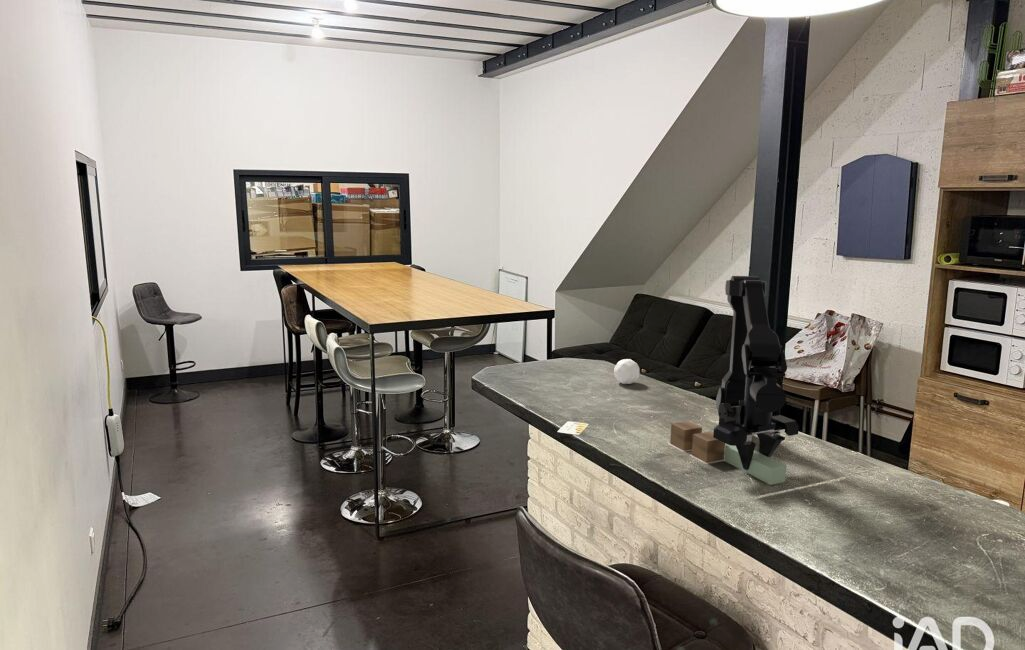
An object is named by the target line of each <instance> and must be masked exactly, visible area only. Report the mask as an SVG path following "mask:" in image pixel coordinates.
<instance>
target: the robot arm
mask: <svg viewBox="0 0 1025 650" xmlns="http://www.w3.org/2000/svg"><path fill="white" fill-rule="evenodd" d="M724 289H725V290H724V291H725V296H727V297H726V298H727V299H726V300H727V302H728V304H729V306H730V308H731V309H732V311H733V313H732V314H733V315H732V327H731V328H732V329H731V342H730V343H731V345H730V358H729V359H730V360H729V370H728V371H727V373H725V375H724V376H723V378H722V379H721V386H720V387H719V388H718V391H717V393H716V394H717V395H716V398H715V406H716V409H717V412H718V413H717V414H718V424H717V425H716V426H714V428H713V433H714V434H713V438H715V439H718V440H720V441H722V442H724V443H725V445H727V446H728V445H731V446H736V448H737V450H738V453H739V456H740V459H741V463H742V466H743V469H745V470H748V469H749V466H750V464H751V460H752V456H753V453H754V451H755V449H756V446H757V443H756V442H754V441H753V440H752V438H753V435H755V436H756V435H757V438H758V440H759V444H758V452H759V453H761V454H763V455H765V456H767V457H769V458H771V456H772V455H773V454H774V452H775V451H776V450H777V449H778V447H779V446H780V445H781V443H782V442H783V441H785V440H786V437H785V436H782V435H781V434H782V433H781V431H783V430H784V433H785V434H786V436H788V437H790V436H796V435H799V428H800V426H799V424H798V423H797V420H795V419H793V418H789V417H787V416H784V415H781V414H779V415H773V413H776V412H778V411H780V410H781V409H782V408H783V407H784V406H785V405H786V401H787V395H786V393H785V390H784V389H783V388H782V387H781V385H780V384H778V378H779V377H780V378H781V377H782V378H785V377H786V373H787V370H788V364H787V358H786V353H785V350H784V347H783V345H781V344H780V340H779V336H778V334H777V333H776V332H775V331H773V329H771V326H770V322H769V315H768V311H767V310H768V309H767V303H766V299H765V298H766V296H767V281H766V280H760V277H759V276H758V275H757V276H756V275H749V276H748V275H731V278H730V279H727V280H726V281H725V287H724Z"/></svg>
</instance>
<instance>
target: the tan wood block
mask: <svg viewBox="0 0 1025 650" xmlns="http://www.w3.org/2000/svg"><path fill="white" fill-rule="evenodd" d="M713 434H714V431H705V432H704V431H703V432H702V433H697V434H693V443H692V451H691V452H692V453H691V454H692V456H694V457H696V458H698V459H700V460H702V461H704V462H706V463H708V462H714V461H719V460H724V459H725V446H726V443H724V442H722V441H720V440H718V439H715V438H713Z"/></svg>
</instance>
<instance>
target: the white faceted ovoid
mask: <svg viewBox="0 0 1025 650" xmlns="http://www.w3.org/2000/svg"><path fill="white" fill-rule="evenodd" d="M613 370H614V372H613V374H614V377H615V379H616V380H617V381H618V382H619V383H621V384H622V385H632V384H634V383H635V382H637V380H638V378H639V377H640V366H639V364H638V363H637V362H635V361H634V360H632V359H631V358H624V359H621V360H619V361H618V362H617V363H616V364H615V366H614V369H613Z"/></svg>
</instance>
